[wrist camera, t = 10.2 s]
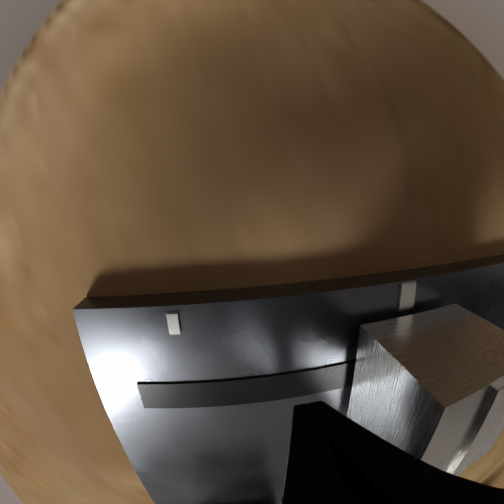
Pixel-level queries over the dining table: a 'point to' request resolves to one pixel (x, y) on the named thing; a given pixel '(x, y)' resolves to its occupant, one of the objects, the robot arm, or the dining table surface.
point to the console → (247, 369)
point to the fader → (432, 385)
